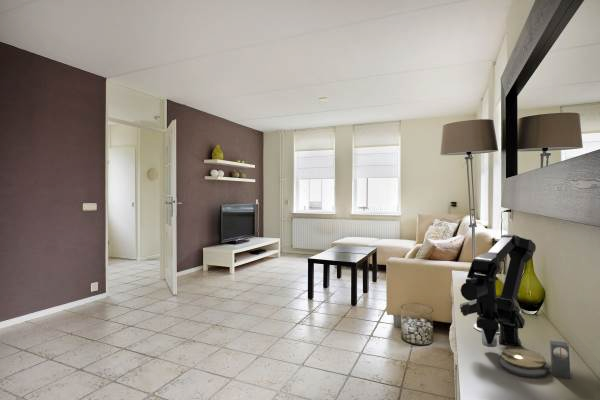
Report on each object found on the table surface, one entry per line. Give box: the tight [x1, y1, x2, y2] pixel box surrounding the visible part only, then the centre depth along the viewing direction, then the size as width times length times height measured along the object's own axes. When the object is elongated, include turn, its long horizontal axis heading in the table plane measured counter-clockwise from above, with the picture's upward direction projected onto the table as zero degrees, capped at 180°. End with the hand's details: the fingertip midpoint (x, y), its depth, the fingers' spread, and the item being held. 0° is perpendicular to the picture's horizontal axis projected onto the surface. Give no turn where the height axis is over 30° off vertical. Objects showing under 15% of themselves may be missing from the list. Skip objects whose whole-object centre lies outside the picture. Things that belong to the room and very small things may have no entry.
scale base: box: [499, 340, 572, 379], centre depth 103 cm, size 12×17×9 cm
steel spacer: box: [480, 328, 498, 348], centre depth 117 cm, size 4×4×5 cm
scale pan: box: [501, 348, 547, 369], centre depth 104 cm, size 11×11×1 cm
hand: (489, 341), depth 117 cm, fingers closed on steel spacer, 4 cm apart
